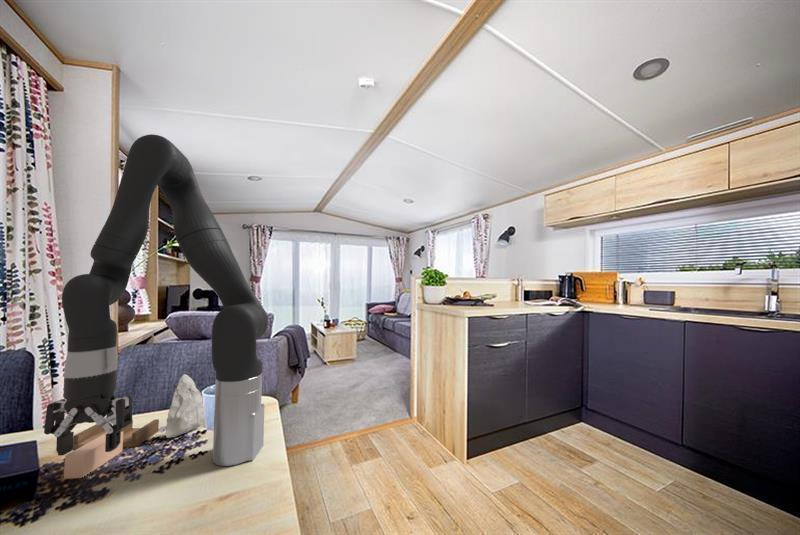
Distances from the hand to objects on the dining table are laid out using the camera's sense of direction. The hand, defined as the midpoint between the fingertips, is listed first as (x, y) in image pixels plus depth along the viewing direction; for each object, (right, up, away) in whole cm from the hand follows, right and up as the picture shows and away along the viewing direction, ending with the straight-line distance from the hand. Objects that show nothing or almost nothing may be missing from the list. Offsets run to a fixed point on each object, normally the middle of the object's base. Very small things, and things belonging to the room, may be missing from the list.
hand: (88, 451), depth 59 cm
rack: (-5, -4, +11) cm, 13 cm away
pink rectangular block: (-1, -4, +2) cm, 5 cm away
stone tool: (+9, -5, +14) cm, 17 cm away
